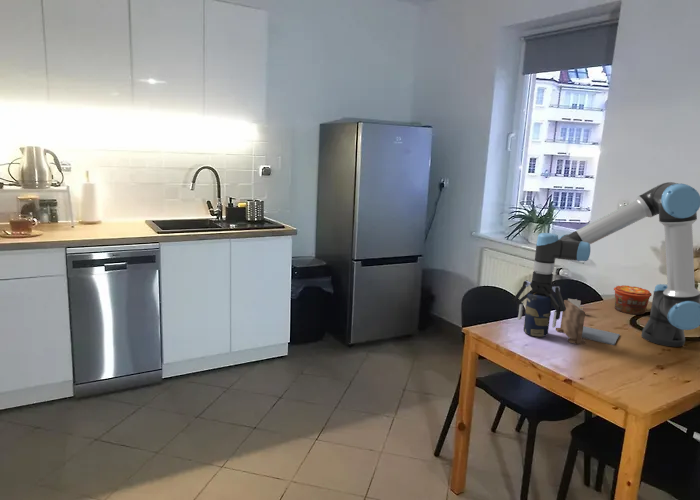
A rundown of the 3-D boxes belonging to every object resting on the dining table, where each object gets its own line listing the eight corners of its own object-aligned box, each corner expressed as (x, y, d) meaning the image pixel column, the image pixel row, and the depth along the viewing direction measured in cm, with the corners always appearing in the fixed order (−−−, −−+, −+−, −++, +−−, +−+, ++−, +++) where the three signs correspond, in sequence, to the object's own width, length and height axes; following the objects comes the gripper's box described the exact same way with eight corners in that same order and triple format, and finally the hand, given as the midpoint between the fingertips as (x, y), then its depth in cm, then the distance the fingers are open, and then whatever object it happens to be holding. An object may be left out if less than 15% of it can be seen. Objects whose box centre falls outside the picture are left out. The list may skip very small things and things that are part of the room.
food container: (604, 305, 252) (607, 284, 250) (633, 305, 254) (637, 285, 252) (624, 316, 237) (628, 293, 235) (656, 316, 239) (659, 294, 237)
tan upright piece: (554, 329, 214) (558, 299, 211) (568, 329, 214) (573, 300, 211) (571, 343, 198) (575, 312, 196) (586, 344, 198) (591, 312, 196)
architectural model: (566, 311, 240) (568, 296, 239) (582, 314, 237) (584, 299, 235) (565, 313, 237) (567, 298, 236) (581, 316, 234) (583, 301, 233)
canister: (551, 339, 202) (556, 295, 199) (527, 337, 202) (532, 294, 199) (542, 330, 212) (548, 289, 208) (519, 329, 212) (524, 287, 208)
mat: (619, 335, 210) (619, 334, 210) (614, 345, 199) (614, 343, 199) (583, 327, 218) (583, 326, 218) (576, 336, 207) (576, 335, 206)
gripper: (578, 276, 198) (571, 327, 202) (514, 265, 212) (508, 313, 216) (574, 279, 192) (566, 332, 196) (509, 268, 206) (503, 317, 210)
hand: (536, 322), depth 206 cm, fingers open, 13 cm apart
